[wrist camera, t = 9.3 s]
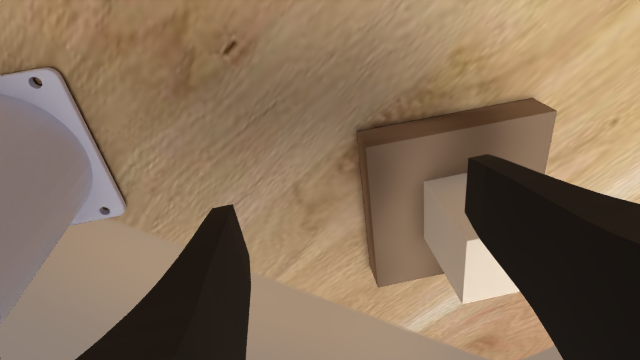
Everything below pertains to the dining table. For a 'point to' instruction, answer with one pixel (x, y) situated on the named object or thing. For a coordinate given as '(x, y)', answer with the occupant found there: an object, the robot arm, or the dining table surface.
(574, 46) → the dining table surface
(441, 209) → the off-white block
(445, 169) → the walnut plinth
